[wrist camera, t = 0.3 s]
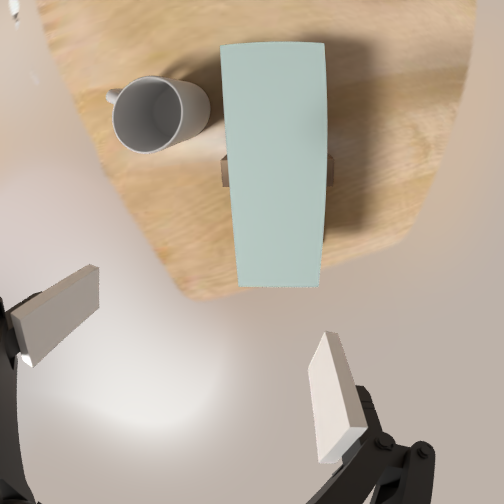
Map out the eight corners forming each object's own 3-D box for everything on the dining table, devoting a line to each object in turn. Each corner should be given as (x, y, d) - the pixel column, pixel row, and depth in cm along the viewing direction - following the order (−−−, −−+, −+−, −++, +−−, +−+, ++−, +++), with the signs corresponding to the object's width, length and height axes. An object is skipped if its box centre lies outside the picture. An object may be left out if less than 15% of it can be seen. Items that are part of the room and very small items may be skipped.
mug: (222, 95, 31) (199, 91, 22) (194, 150, 35) (164, 167, 26) (148, 66, 29) (105, 59, 20) (125, 119, 33) (80, 129, 24)
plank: (222, 47, 21) (219, 45, 20) (322, 45, 20) (324, 43, 19) (239, 281, 35) (238, 286, 34) (317, 281, 34) (318, 286, 33)
